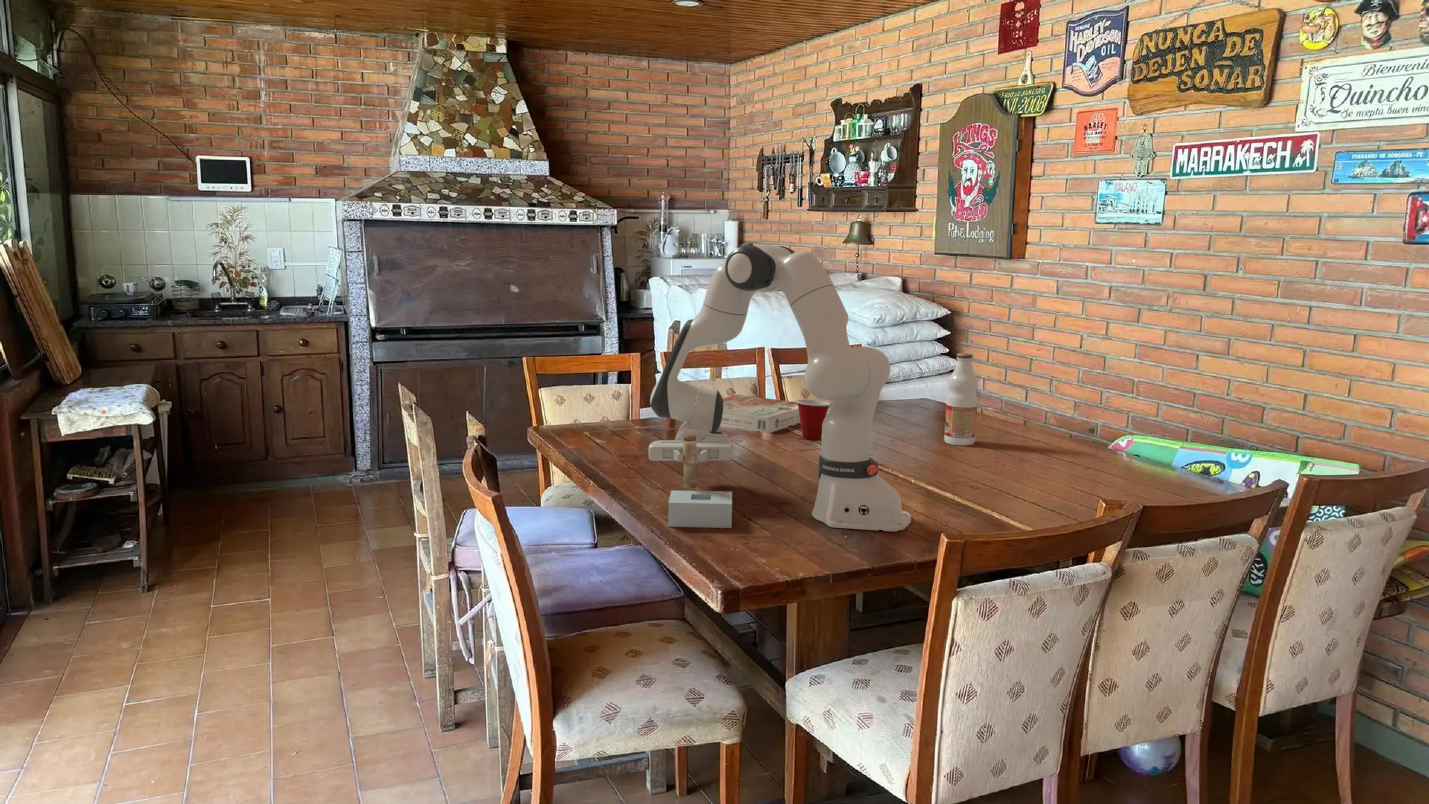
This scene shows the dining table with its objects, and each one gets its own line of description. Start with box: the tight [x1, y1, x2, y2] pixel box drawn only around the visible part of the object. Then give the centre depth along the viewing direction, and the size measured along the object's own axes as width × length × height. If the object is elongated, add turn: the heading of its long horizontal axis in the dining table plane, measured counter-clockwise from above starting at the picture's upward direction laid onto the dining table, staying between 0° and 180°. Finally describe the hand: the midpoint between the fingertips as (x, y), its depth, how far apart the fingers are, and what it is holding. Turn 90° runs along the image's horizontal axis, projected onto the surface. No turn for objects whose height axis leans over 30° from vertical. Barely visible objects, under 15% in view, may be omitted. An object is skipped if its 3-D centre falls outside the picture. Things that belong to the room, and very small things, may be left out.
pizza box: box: [693, 394, 800, 434], centre depth 333 cm, size 32×5×32 cm
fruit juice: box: [943, 352, 979, 447], centre depth 300 cm, size 9×9×28 cm
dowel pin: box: [683, 435, 698, 489], centre depth 224 cm, size 3×3×12 cm
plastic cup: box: [795, 399, 832, 441], centre depth 305 cm, size 11×11×12 cm
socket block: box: [667, 490, 733, 529], centre depth 218 cm, size 14×10×6 cm
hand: (689, 458), depth 223 cm, fingers closed on dowel pin, 3 cm apart
